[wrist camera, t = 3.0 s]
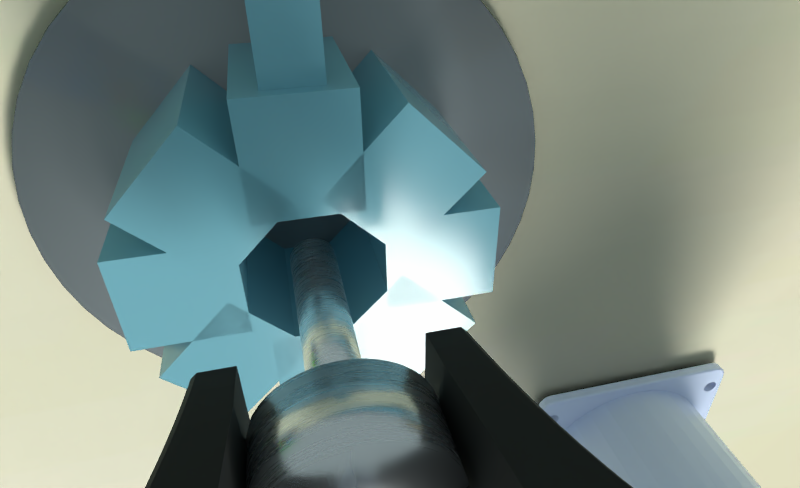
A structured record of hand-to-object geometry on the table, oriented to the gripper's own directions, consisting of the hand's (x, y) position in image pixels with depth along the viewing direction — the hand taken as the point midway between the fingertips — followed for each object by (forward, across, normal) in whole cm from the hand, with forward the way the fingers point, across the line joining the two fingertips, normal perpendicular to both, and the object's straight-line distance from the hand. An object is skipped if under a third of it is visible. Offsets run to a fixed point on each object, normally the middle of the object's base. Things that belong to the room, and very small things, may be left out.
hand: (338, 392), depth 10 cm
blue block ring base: (+7, 0, 0) cm, 7 cm away
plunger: (+4, 0, 0) cm, 4 cm away
